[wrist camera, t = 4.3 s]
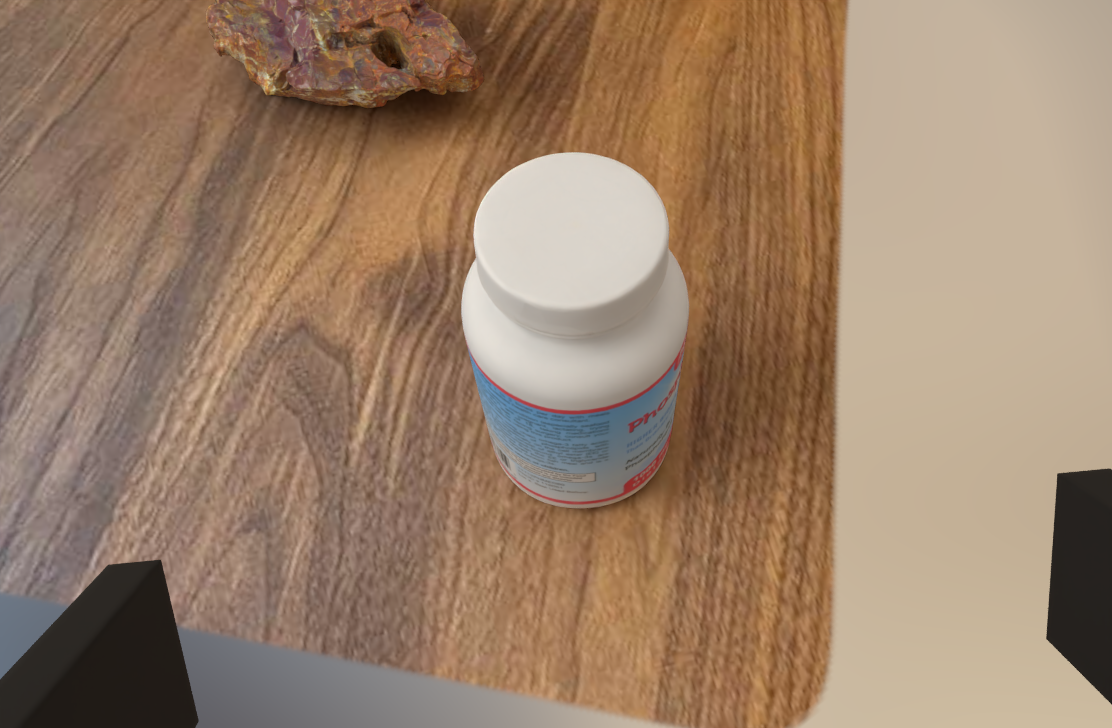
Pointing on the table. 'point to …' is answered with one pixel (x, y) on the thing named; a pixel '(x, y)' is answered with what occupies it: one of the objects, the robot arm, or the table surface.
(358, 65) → the mineral specimen
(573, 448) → the pill bottle
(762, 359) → the table surface
